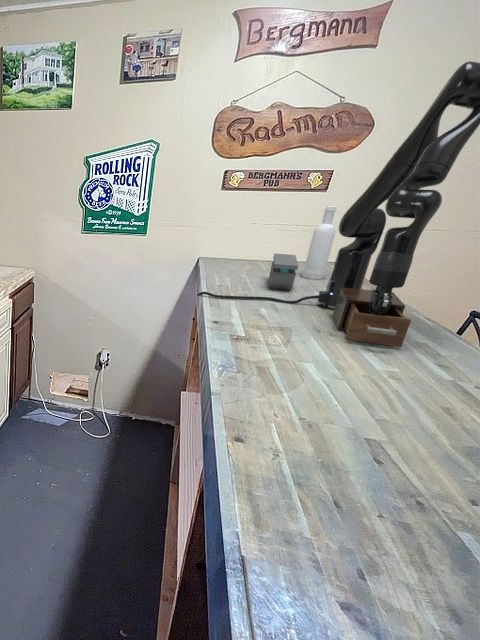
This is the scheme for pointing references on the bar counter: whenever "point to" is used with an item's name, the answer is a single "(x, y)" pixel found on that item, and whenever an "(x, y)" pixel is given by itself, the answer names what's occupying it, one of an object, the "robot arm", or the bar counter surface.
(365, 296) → the cabinet
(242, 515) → the bar counter surface
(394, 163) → the robot arm
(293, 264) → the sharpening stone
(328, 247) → the bottle
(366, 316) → the drawer
